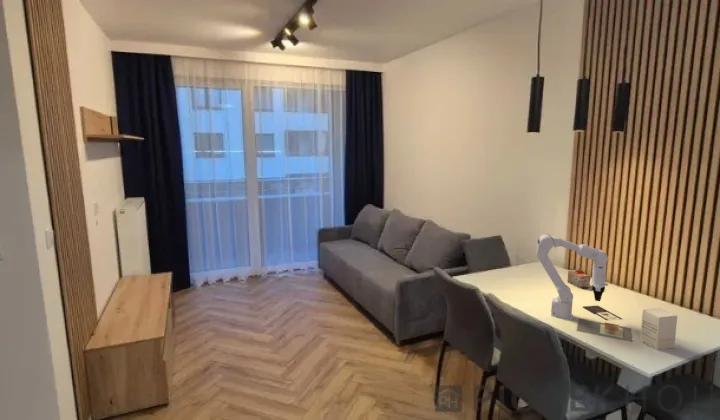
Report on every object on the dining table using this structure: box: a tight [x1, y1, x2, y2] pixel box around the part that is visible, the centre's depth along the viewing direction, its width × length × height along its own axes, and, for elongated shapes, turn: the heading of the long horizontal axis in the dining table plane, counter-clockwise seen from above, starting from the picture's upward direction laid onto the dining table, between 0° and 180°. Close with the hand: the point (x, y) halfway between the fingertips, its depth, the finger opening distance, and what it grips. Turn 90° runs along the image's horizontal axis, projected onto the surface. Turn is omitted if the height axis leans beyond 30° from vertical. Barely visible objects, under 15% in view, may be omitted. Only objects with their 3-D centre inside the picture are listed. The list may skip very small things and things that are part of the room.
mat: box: [576, 318, 633, 343], centre depth 190 cm, size 22×16×1 cm
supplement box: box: [639, 307, 678, 351], centre depth 175 cm, size 9×9×15 cm
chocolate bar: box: [582, 304, 623, 321], centre depth 210 cm, size 9×1×18 cm
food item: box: [567, 269, 592, 289], centre depth 252 cm, size 14×8×10 cm, turn 13°
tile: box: [603, 322, 620, 336], centre depth 188 cm, size 6×2×8 cm
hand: (597, 300), depth 200 cm, fingers closed
